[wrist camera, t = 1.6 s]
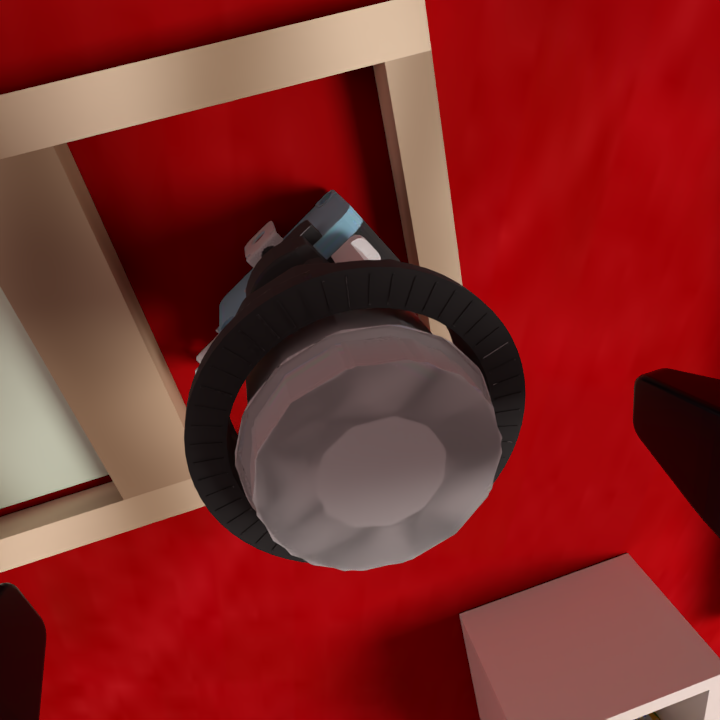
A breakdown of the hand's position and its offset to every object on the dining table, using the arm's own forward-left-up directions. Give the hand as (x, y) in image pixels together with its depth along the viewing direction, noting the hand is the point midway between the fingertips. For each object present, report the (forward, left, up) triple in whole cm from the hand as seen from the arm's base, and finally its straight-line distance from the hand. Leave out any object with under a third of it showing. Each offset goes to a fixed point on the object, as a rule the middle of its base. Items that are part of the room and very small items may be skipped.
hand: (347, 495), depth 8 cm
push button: (0, 0, -10) cm, 10 cm away
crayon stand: (-8, +24, -10) cm, 27 cm away
